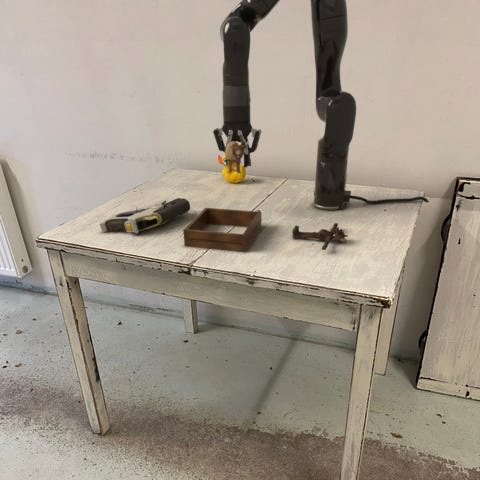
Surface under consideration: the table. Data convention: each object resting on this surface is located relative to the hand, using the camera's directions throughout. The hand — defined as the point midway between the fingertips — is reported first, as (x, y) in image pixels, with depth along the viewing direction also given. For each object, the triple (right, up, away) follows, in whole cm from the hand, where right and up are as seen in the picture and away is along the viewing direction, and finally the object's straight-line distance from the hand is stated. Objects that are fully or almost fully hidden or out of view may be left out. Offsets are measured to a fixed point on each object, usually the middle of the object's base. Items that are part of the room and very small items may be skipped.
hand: (238, 166), depth 141 cm
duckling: (-2, +5, +36) cm, 36 cm away
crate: (-4, -22, -7) cm, 23 cm away
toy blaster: (-27, -17, +2) cm, 32 cm away
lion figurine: (0, -1, +1) cm, 1 cm away
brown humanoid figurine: (+22, -24, -10) cm, 34 cm away
